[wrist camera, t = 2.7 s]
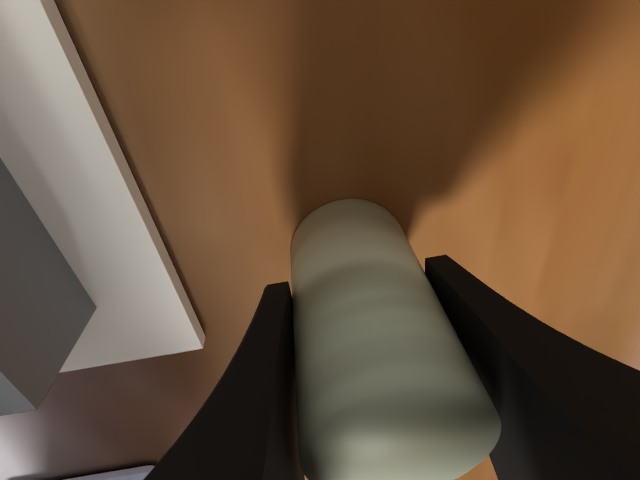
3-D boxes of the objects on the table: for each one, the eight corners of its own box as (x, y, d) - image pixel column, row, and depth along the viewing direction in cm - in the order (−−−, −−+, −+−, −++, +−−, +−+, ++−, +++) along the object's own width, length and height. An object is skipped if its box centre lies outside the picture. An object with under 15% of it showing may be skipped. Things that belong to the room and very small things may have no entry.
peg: (404, 283, 14) (489, 480, 9) (300, 300, 14) (315, 510, 9) (402, 189, 12) (515, 368, 6) (279, 209, 12) (280, 408, 6)
